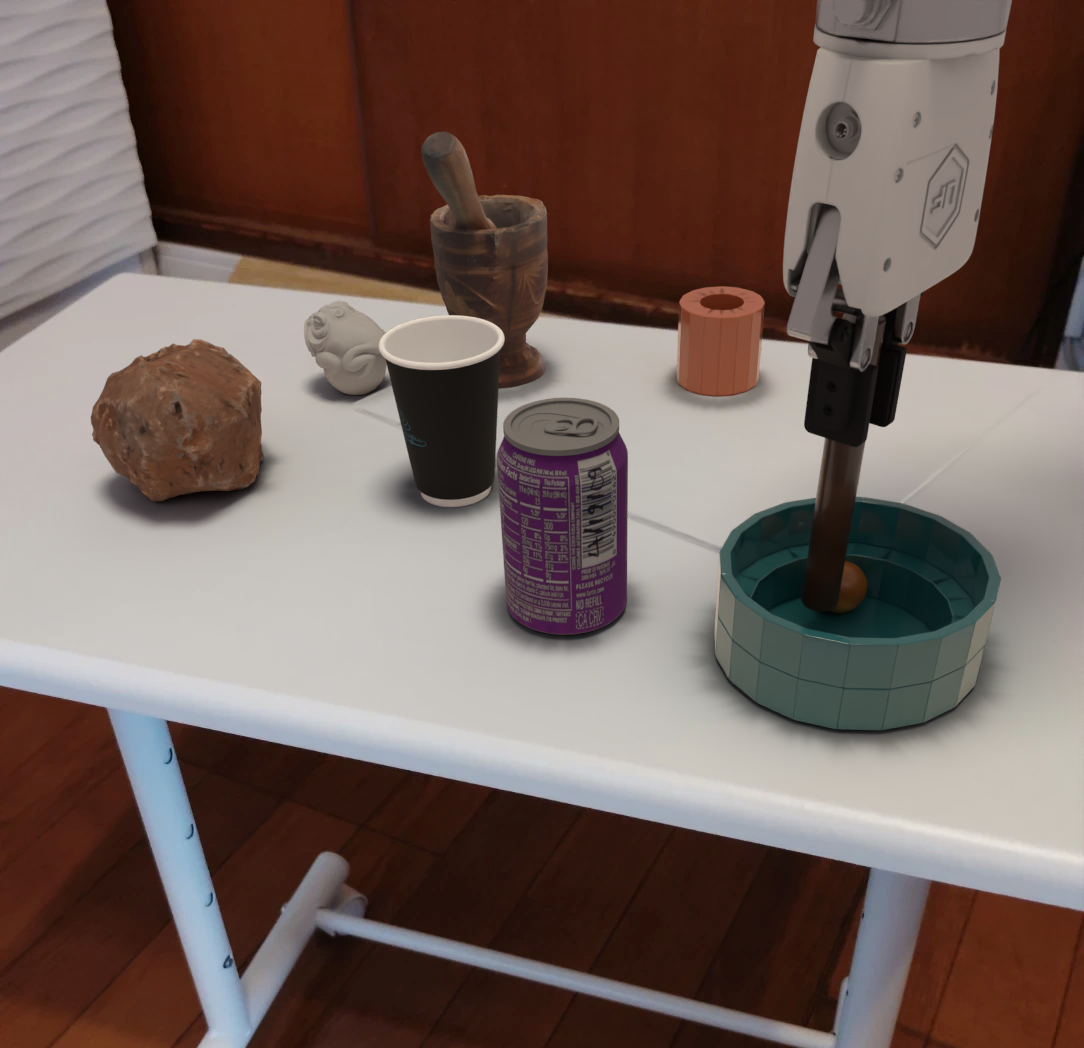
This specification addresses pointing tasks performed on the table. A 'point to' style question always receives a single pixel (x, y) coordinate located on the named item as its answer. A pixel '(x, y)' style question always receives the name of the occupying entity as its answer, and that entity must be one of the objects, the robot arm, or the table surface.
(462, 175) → the mortar and pestle
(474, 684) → the table surface
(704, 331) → the holder
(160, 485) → the decorative rock
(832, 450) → the stirring stick
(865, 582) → the bead
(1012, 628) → the table surface
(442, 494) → the dixie cup
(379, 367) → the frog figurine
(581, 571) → the beverage can
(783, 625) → the bowl
